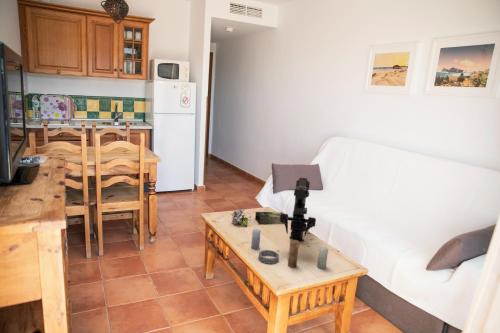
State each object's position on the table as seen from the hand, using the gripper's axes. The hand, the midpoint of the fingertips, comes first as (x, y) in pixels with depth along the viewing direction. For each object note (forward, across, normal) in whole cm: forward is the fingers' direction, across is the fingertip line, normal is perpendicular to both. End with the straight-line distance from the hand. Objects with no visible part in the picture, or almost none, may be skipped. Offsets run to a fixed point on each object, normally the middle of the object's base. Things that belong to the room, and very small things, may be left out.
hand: (295, 234), depth 181 cm
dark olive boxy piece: (-24, -19, +44) cm, 54 cm away
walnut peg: (+15, 0, +4) cm, 16 cm away
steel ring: (+13, -12, +6) cm, 19 cm away
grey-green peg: (+13, +15, +6) cm, 20 cm away
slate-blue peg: (+6, -22, +13) cm, 26 cm away
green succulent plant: (-16, -38, +36) cm, 54 cm away
